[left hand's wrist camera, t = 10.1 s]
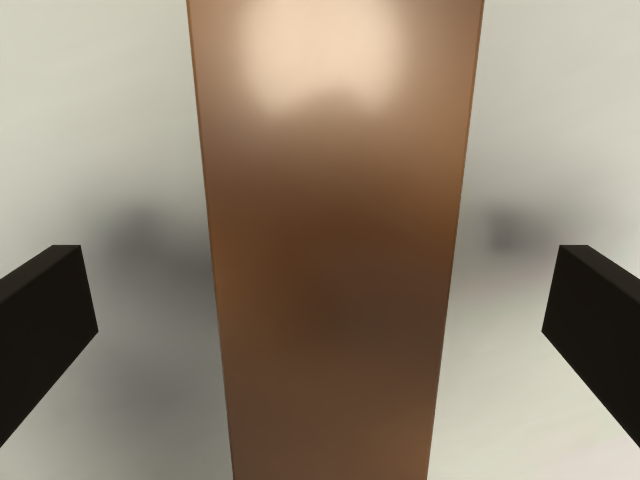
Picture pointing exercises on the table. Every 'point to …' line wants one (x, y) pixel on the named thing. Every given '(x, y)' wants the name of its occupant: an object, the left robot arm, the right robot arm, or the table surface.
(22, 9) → the table surface
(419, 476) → the beam
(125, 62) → the table surface
